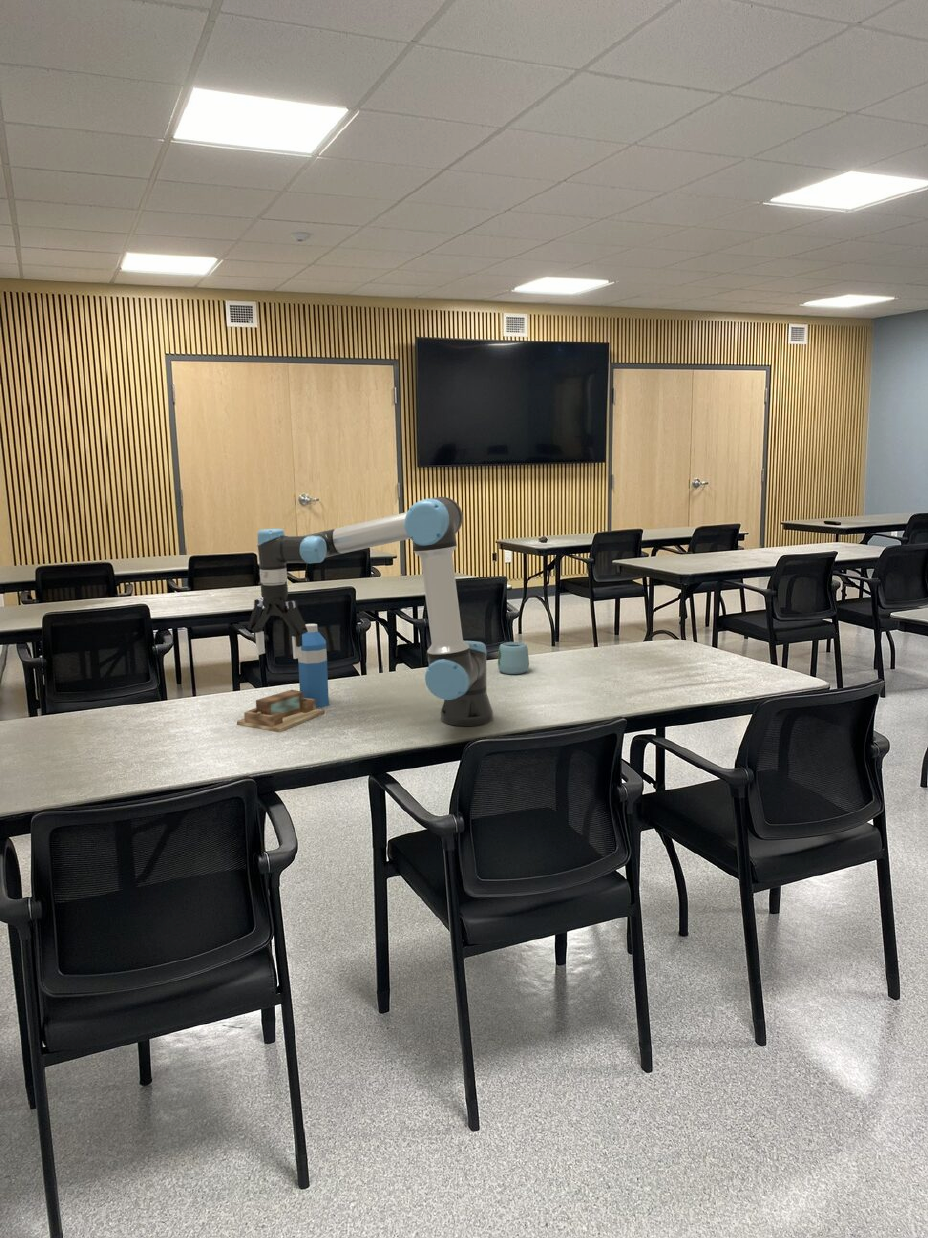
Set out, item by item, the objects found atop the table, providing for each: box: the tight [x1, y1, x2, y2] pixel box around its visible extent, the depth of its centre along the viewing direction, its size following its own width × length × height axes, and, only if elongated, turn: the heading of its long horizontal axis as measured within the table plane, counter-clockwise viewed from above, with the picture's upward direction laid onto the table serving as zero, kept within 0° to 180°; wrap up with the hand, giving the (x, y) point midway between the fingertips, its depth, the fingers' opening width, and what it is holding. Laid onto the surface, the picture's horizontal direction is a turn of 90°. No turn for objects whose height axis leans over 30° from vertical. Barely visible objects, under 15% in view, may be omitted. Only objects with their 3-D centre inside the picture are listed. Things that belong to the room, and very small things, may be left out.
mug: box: [497, 641, 530, 675], centre depth 317 cm, size 15×11×10 cm
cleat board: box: [236, 698, 325, 733], centre depth 263 cm, size 16×20×5 cm
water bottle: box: [297, 623, 330, 709], centre depth 277 cm, size 9×9×25 cm
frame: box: [255, 689, 303, 718], centre depth 263 cm, size 14×5×6 cm, turn 144°
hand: (279, 655), depth 260 cm, fingers open, 13 cm apart
